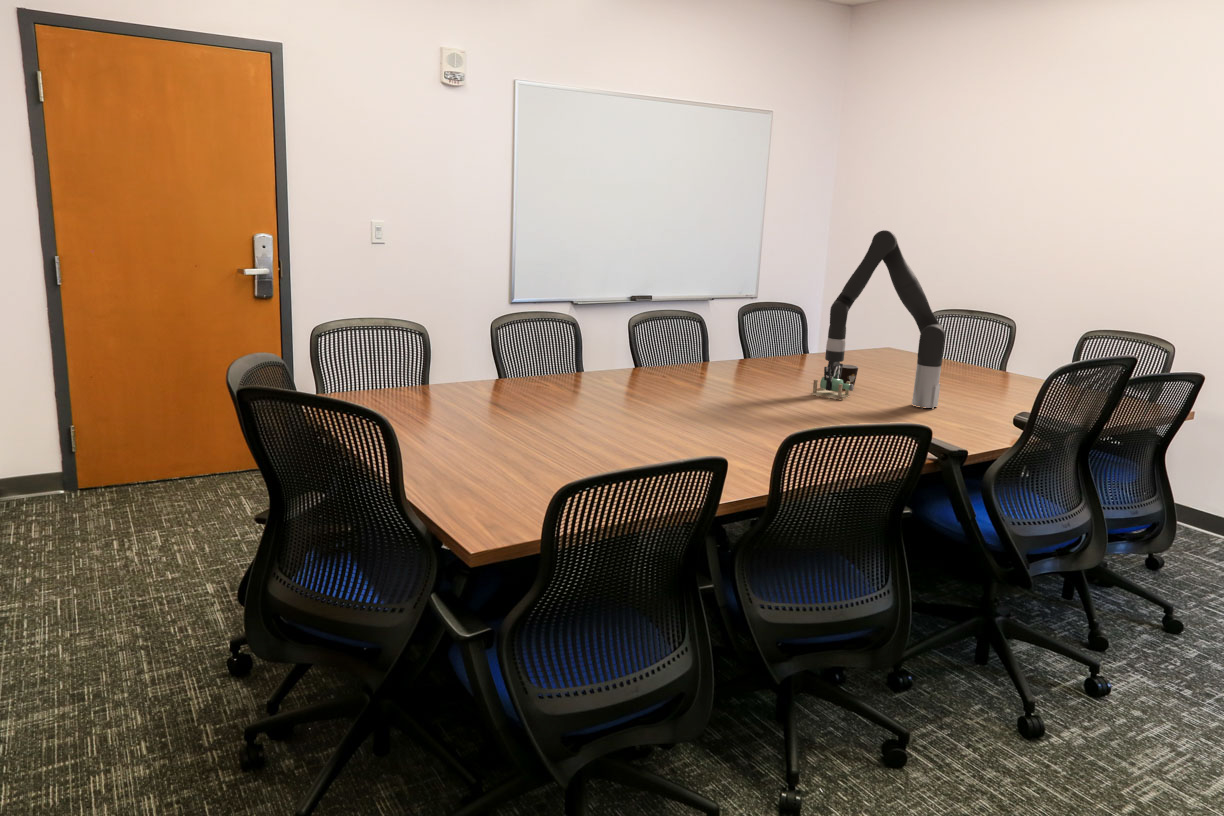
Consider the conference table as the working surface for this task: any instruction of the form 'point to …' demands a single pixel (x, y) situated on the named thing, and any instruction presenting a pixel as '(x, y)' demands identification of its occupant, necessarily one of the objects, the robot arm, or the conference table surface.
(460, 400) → the conference table surface
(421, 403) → the conference table surface
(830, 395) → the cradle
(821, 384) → the bottle
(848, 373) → the coffee mug
